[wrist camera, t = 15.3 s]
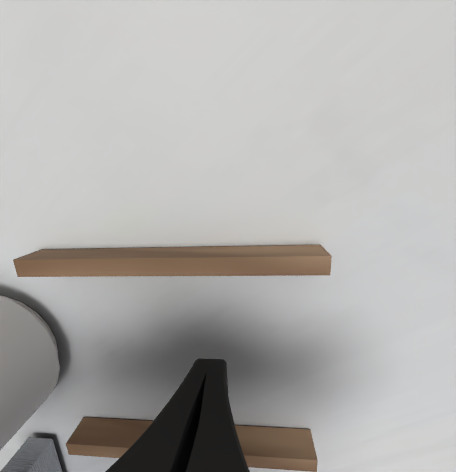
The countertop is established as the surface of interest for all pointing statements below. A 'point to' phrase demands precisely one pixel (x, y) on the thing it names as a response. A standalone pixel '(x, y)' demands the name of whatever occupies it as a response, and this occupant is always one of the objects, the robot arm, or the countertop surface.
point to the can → (24, 365)
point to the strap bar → (35, 457)
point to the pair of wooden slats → (186, 264)
